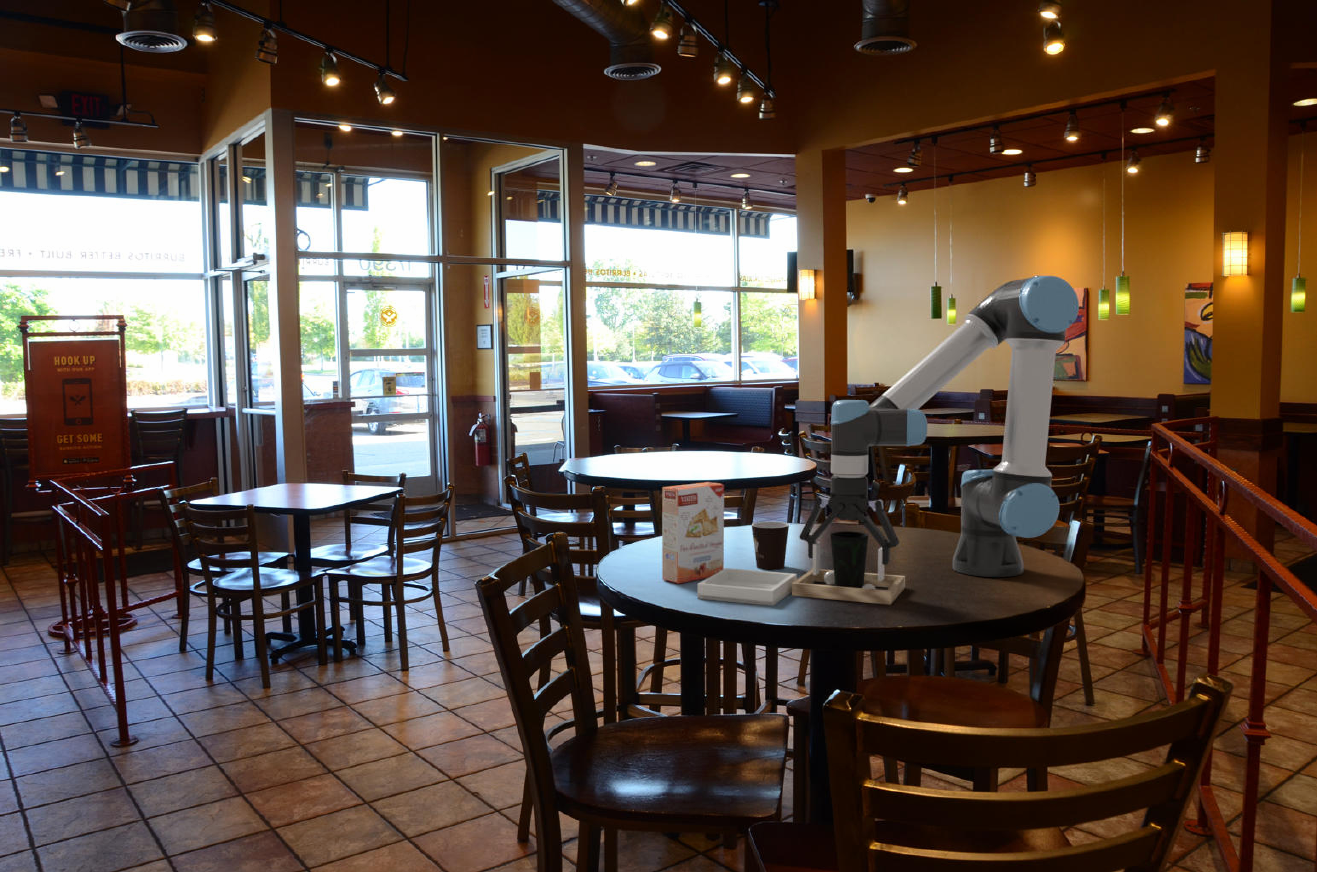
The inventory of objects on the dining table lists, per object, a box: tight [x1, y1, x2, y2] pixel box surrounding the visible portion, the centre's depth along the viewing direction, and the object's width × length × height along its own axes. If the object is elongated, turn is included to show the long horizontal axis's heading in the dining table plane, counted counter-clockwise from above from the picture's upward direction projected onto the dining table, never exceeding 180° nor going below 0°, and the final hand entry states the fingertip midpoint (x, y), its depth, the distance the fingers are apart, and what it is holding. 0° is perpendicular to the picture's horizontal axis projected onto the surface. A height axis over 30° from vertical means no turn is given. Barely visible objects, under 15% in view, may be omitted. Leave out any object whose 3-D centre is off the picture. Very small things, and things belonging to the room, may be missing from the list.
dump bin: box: [697, 567, 798, 607], centre depth 197 cm, size 16×16×3 cm
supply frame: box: [791, 568, 906, 606], centre depth 197 cm, size 20×15×2 cm
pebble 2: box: [862, 584, 877, 590], centre depth 191 cm, size 3×3×3 cm
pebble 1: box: [824, 571, 835, 586], centre depth 203 cm, size 3×3×3 cm
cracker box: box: [661, 481, 725, 584], centre depth 212 cm, size 14×6×21 cm, turn 130°
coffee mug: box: [751, 521, 790, 571], centre depth 223 cm, size 12×9×10 cm
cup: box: [830, 530, 869, 588], centre depth 197 cm, size 8×8×12 cm
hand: (848, 577), depth 197 cm, fingers open, 13 cm apart
